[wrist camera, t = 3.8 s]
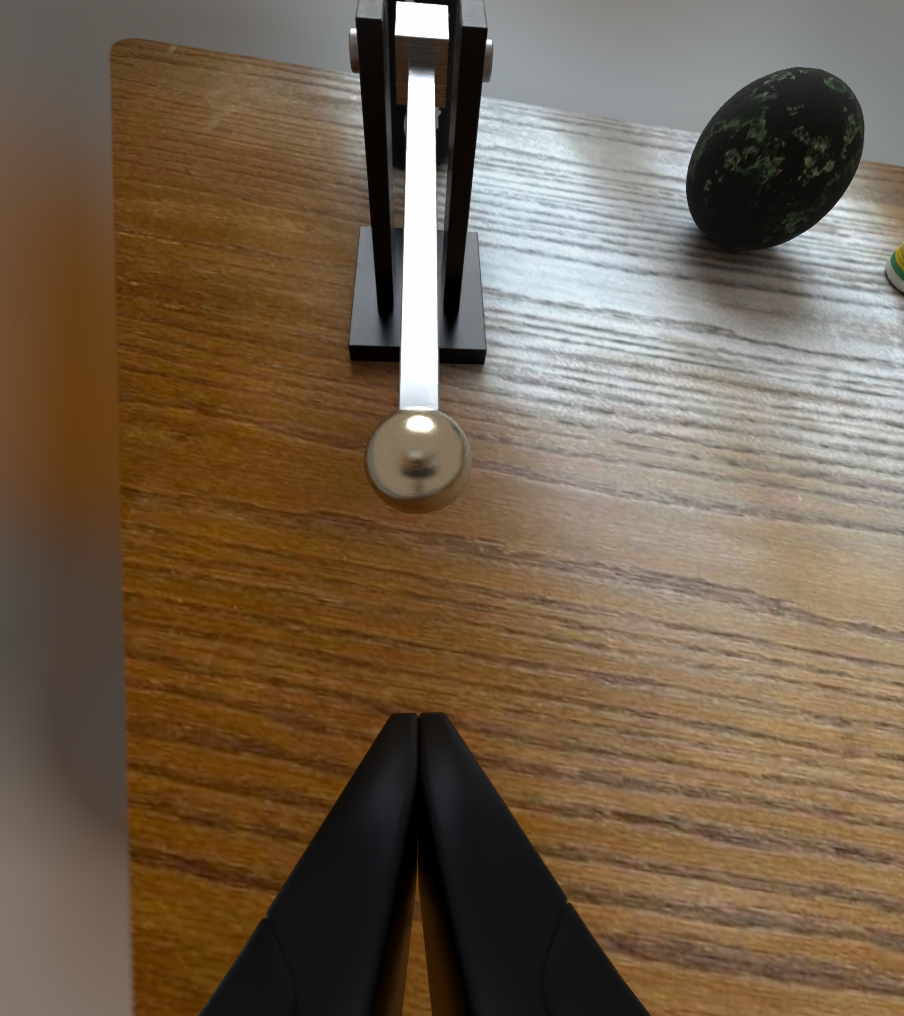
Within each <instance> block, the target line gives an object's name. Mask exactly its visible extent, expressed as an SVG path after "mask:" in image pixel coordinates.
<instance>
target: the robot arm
mask: <svg viewBox="0 0 904 1016" xmlns="http://www.w3.org/2000/svg"><path fill="white" fill-rule="evenodd" d="M417 841H418V882H419V895H420V905H421V914H422V923H423V933H424V942H425V952H426V961H427V971H428V980H429V990H430V999H431V1009H432V1016H651V1015H650V1014H649V1012H648V1011H647V1010H646V1009H645V1007H644V1006H643V1005H642V1003H641V1002H640V1001H639V1000H638V998H637V997H636V996H635V994H634V993H633V992H632V990H631V989H630V988H629V987H628V985H627V984H626V983H625V981H624V980H623V978H622V977H621V976H620V974H619V973H618V971H617V970H616V968H615V967H614V966H613V964H612V963H611V961H610V960H609V958H608V957H607V956H606V954H605V953H604V951H603V950H602V948H601V947H600V946H599V944H598V943H597V941H596V940H595V938H594V937H593V936H592V934H591V933H590V931H589V930H588V928H587V927H586V925H585V923H584V922H583V920H582V919H581V917H580V916H579V914H578V913H577V911H576V910H575V908H574V907H573V905H572V904H571V903H567V897H566V895H565V894H564V892H563V891H562V889H561V888H560V886H559V884H558V883H557V881H556V880H555V878H554V877H553V875H552V874H551V872H550V871H549V869H548V868H547V866H546V865H545V863H544V862H543V860H542V859H541V857H540V856H539V854H538V853H537V851H536V850H535V848H534V847H533V845H532V844H531V842H530V841H529V839H528V838H527V836H526V834H525V833H524V831H523V830H522V828H521V827H520V825H519V824H518V822H517V821H516V819H515V818H514V816H513V815H512V813H511V812H510V810H509V809H508V807H507V806H506V804H505V803H504V801H503V800H502V798H501V797H500V795H499V794H498V792H497V791H496V789H495V788H494V786H493V784H492V783H491V781H490V780H489V778H488V777H487V775H486V774H485V772H484V771H483V769H482V768H481V766H480V765H479V763H478V762H477V760H476V759H475V757H474V756H473V754H472V753H471V751H470V750H469V748H468V747H467V745H466V744H465V742H464V741H463V739H462V738H461V736H460V734H459V733H458V731H457V730H456V728H455V727H454V725H453V724H452V722H451V721H450V719H449V718H448V716H447V715H446V714H445V713H443V712H429V713H421V714H420V715H419V720H418V715H417V714H416V713H394V714H392V715H391V716H390V717H389V719H388V720H387V722H386V723H385V725H384V726H383V728H382V730H381V731H380V733H379V734H378V736H377V738H376V739H375V741H374V742H373V744H372V746H371V747H370V749H369V750H368V752H367V753H366V755H365V757H364V758H363V760H362V761H361V763H360V765H359V766H358V768H357V769H356V771H355V773H354V774H353V776H352V777H351V779H350V780H349V782H348V784H347V785H346V787H345V788H344V790H343V792H342V793H341V795H340V796H339V798H338V799H337V801H336V803H335V804H334V806H333V807H332V809H331V811H330V812H329V814H328V815H327V817H326V819H325V820H324V822H323V823H322V825H321V826H320V828H319V830H318V831H317V833H316V834H315V836H314V838H313V839H312V841H311V842H310V844H309V845H308V847H307V849H306V850H305V852H304V853H303V855H302V857H301V858H300V860H299V861H298V863H297V865H296V866H295V868H294V869H293V871H292V872H291V874H290V876H289V877H288V879H287V880H286V882H285V884H284V885H283V887H282V888H281V890H280V891H279V893H278V895H277V896H276V898H275V899H274V901H273V903H272V904H271V906H270V907H269V909H268V911H267V913H266V916H267V918H263V919H262V920H261V921H260V923H259V924H258V926H257V927H256V929H255V931H254V932H253V934H252V935H251V937H250V939H249V940H248V942H247V943H246V945H245V947H244V948H243V950H242V951H241V953H240V954H239V956H238V957H237V959H236V960H235V962H234V963H233V965H232V966H231V968H230V969H229V971H228V972H227V974H226V975H225V977H224V978H223V980H222V981H221V983H220V984H219V986H218V987H217V989H216V990H215V992H214V993H213V995H212V996H211V998H210V999H209V1001H208V1002H207V1004H206V1005H205V1007H204V1008H203V1010H202V1011H201V1012H200V1014H199V1015H198V1016H402V1010H403V1001H404V992H405V983H406V974H407V965H408V956H409V947H410V938H411V929H412V919H413V910H414V901H415V891H416V879H417Z"/></svg>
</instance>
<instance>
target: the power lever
mask: <svg viewBox="0 0 904 1016" xmlns="http://www.w3.org/2000/svg"><path fill="white" fill-rule="evenodd" d="M449 42H450V38H449V11H448V6H446V5H434V4H422V3H410V2H399V1H397V2H396V9H395V28H394V51H395V88H396V104H397V105H407V118H406V152H405V187H404V222H403V256H402V291H401V325H400V360H399V394H398V410H397V411H395V412H393V413H391V414H389V415H388V416H386V417H385V418H384V419H383V420H382V421H380V422H379V423H378V425H377V426H376V427H375V428H374V430H373V431H372V433H371V435H370V437H369V439H368V441H367V445H366V448H365V454H364V466H365V472H366V475H367V478H368V481H369V483H370V485H371V487H372V489H373V490H374V492H375V493H376V495H377V496H378V497H379V498H380V499H381V500H382V501H383V502H385V503H386V504H387V505H389V506H390V507H392V508H394V509H396V510H398V511H401V512H404V513H409V514H428V513H433V512H436V511H439V510H441V509H443V508H445V507H446V506H448V505H450V504H451V503H452V502H453V501H455V500H456V499H457V498H458V496H459V495H460V494H461V493H462V491H463V490H464V488H465V486H466V485H467V482H468V480H469V477H470V474H471V468H472V453H471V448H470V444H469V441H468V439H467V437H466V435H465V433H464V431H463V430H462V429H461V427H460V426H459V425H458V424H457V423H456V422H455V421H454V420H453V419H452V418H451V417H449V416H448V415H446V414H445V413H443V412H441V411H440V386H439V313H438V239H437V165H436V107H438V108H446V99H447V80H448V61H449Z"/></svg>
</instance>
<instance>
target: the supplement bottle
mask: <svg viewBox="0 0 904 1016" xmlns="http://www.w3.org/2000/svg"><path fill="white" fill-rule="evenodd" d="M886 272H887V276H888V278H889V280H890V281H891V283H892V284H893V285H894V286H895V287H896V288H897V289H899V290H900V291H902V292H903V293H904V242H903V243H902V244H901V246H900V247H899V248H898V249H897V250H896V251H895V252H894V253H893V254H892V255H891V256H890V257H889V259H888V260H887V263H886Z"/></svg>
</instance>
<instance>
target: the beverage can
mask: <svg viewBox="0 0 904 1016" xmlns="http://www.w3.org/2000/svg"><path fill="white" fill-rule="evenodd" d="M397 1H399V2H410V3H422V4H434V5H446V6H448V11H449V38H450V42H449V61H448V80H447V99H446V108H438V107H436V165H437V166H438V165H440V164H441V163H442V162H444V160H445V159H446V158H447V156H448V150H449V133H450V116H451V98H452V81H453V64H454V47H455V29H456V12H457V0H387V11H388V41H389V71H390V101H391V132H392V162H393V165H394V166H396V167H399V168H402V169H405V152H406V118H407V105H397V104H396V88H395V51H394V28H395V9H396V2H397Z"/></svg>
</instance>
